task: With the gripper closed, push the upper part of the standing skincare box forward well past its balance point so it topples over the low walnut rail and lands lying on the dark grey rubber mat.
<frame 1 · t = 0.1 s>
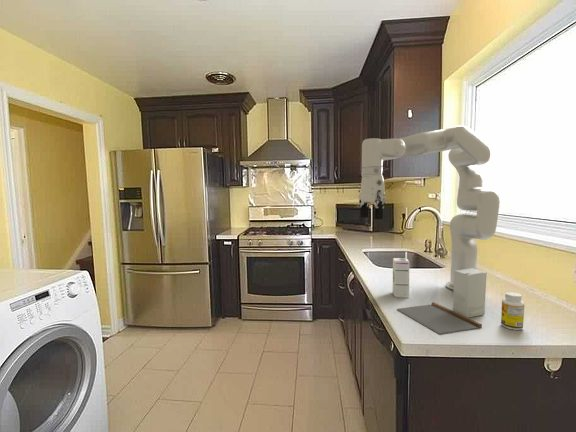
hand: (371, 218, 119), 31 cm above the worktop, fingers open, 9 cm apart
supplement bottle: (511, 327, 96), on the worktop
syrup box: (400, 295, 125), on the worktop
skincare box: (468, 314, 106), on the worktop
rail: (454, 315, 104), on the worktop
mat: (434, 318, 102), on the worktop
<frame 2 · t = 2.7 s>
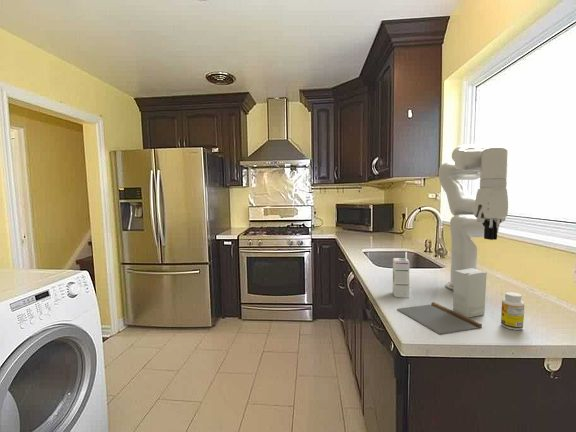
hand: (490, 239, 106), 25 cm above the worktop, fingers closed
nothing on the worktop moved.
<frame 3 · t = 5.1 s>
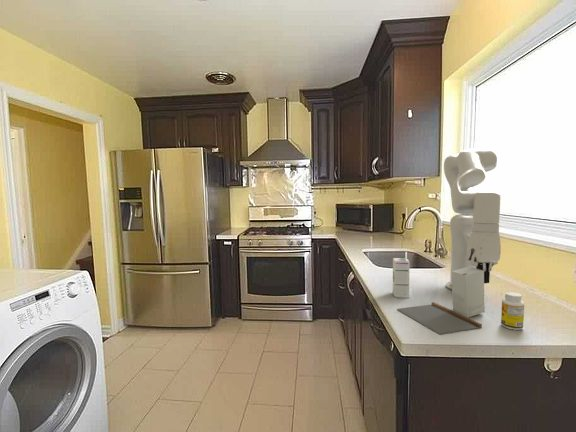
hand: (483, 282, 106), 11 cm above the worktop, fingers closed
skincare box: (468, 313, 106), on the worktop, touching gripper
everything else where it was.
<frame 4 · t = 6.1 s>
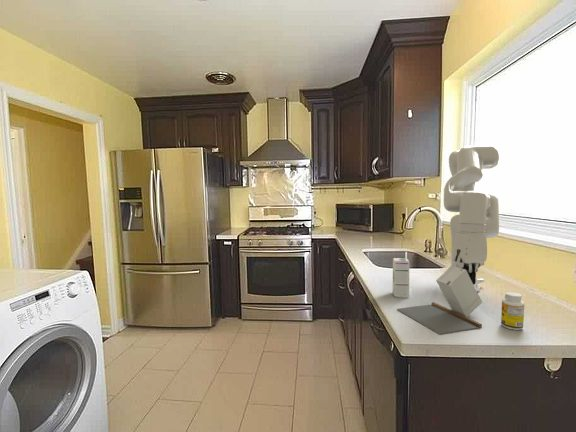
hand: (469, 283, 105), 11 cm above the worktop, fingers closed
skincare box: (467, 308, 106), point 2 cm above the worktop, touching gripper
everything else where it was.
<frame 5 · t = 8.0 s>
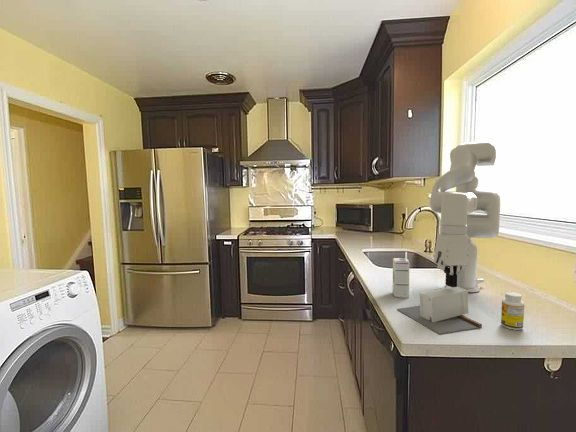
hand: (451, 285, 103), 10 cm above the worktop, fingers closed
skincare box: (462, 299, 105), point 5 cm above the worktop, touching mat, rail
everything else where it was.
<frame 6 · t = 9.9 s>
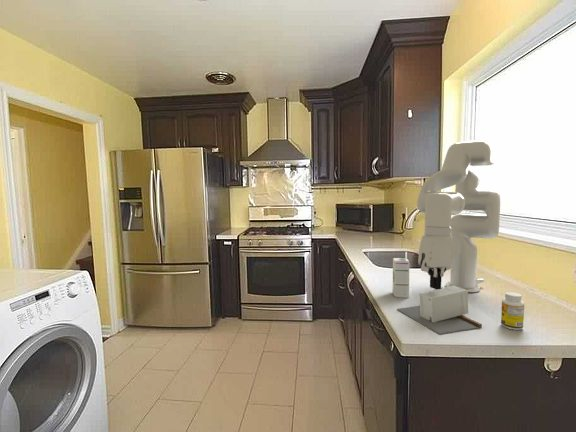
hand: (435, 288, 101), 10 cm above the worktop, fingers closed
nothing on the worktop moved.
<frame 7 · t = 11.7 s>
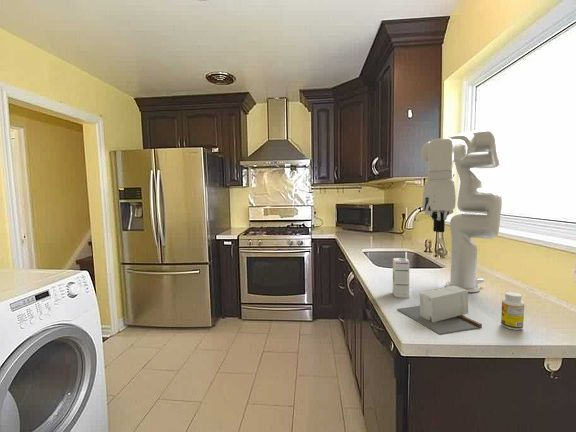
hand: (438, 231, 106), 28 cm above the worktop, fingers closed
nothing on the worktop moved.
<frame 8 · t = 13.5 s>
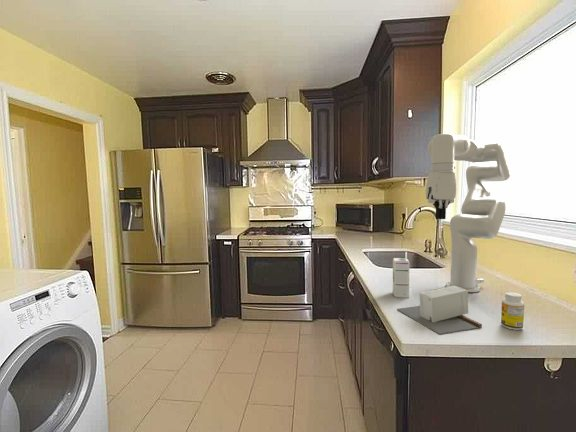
hand: (440, 218, 116), 31 cm above the worktop, fingers closed
nothing on the worktop moved.
at the end: skincare box tilted 92°; skincare box inside the target area (9.9 cm from its centre), point 5.2 cm above the worktop; the gripper is holding nothing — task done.
